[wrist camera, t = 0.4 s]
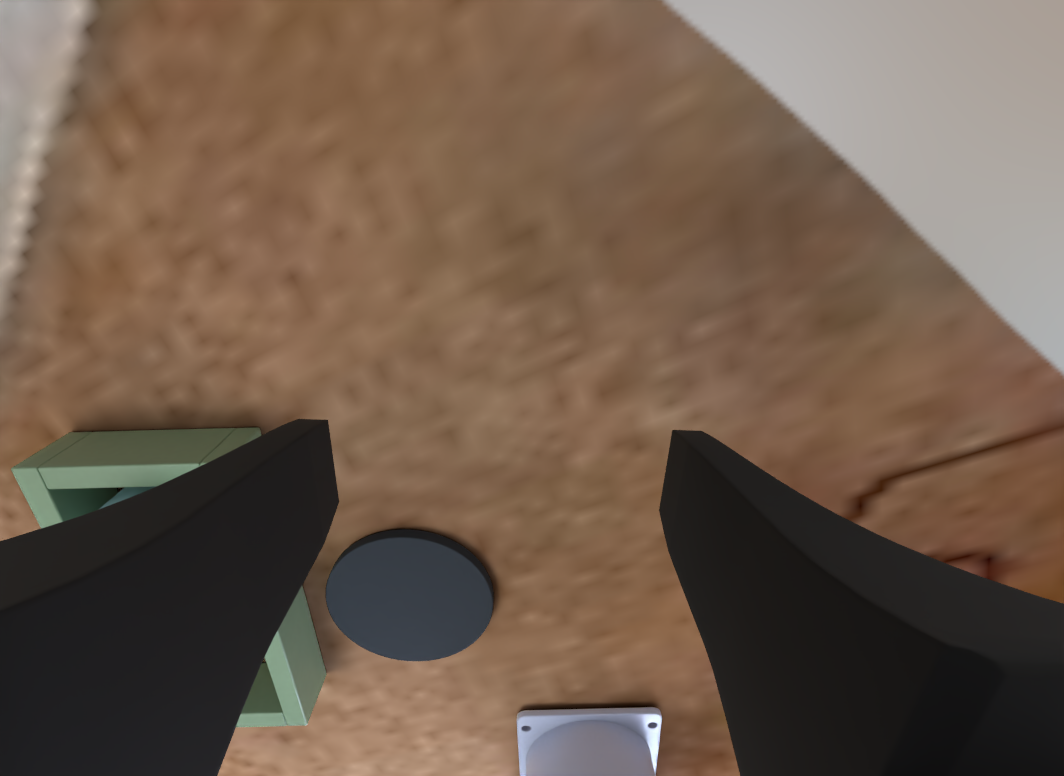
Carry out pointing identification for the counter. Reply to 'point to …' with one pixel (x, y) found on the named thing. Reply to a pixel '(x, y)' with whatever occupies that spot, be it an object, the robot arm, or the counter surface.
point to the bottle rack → (150, 460)
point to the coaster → (410, 595)
